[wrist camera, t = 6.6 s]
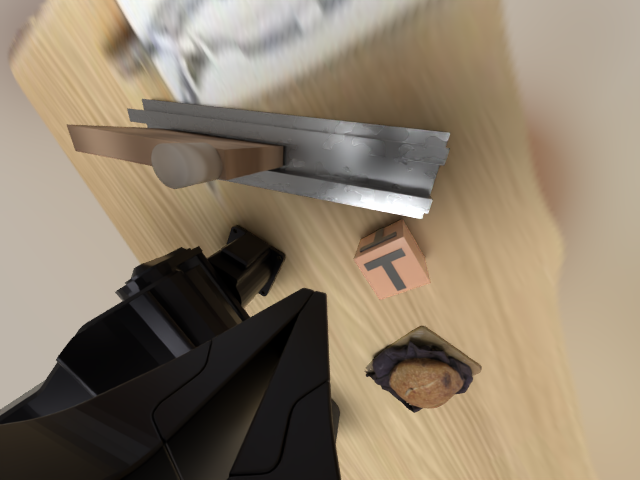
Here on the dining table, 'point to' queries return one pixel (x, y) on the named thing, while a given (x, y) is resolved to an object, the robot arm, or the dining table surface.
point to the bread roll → (422, 370)
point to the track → (323, 154)
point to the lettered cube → (392, 261)
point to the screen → (178, 152)
